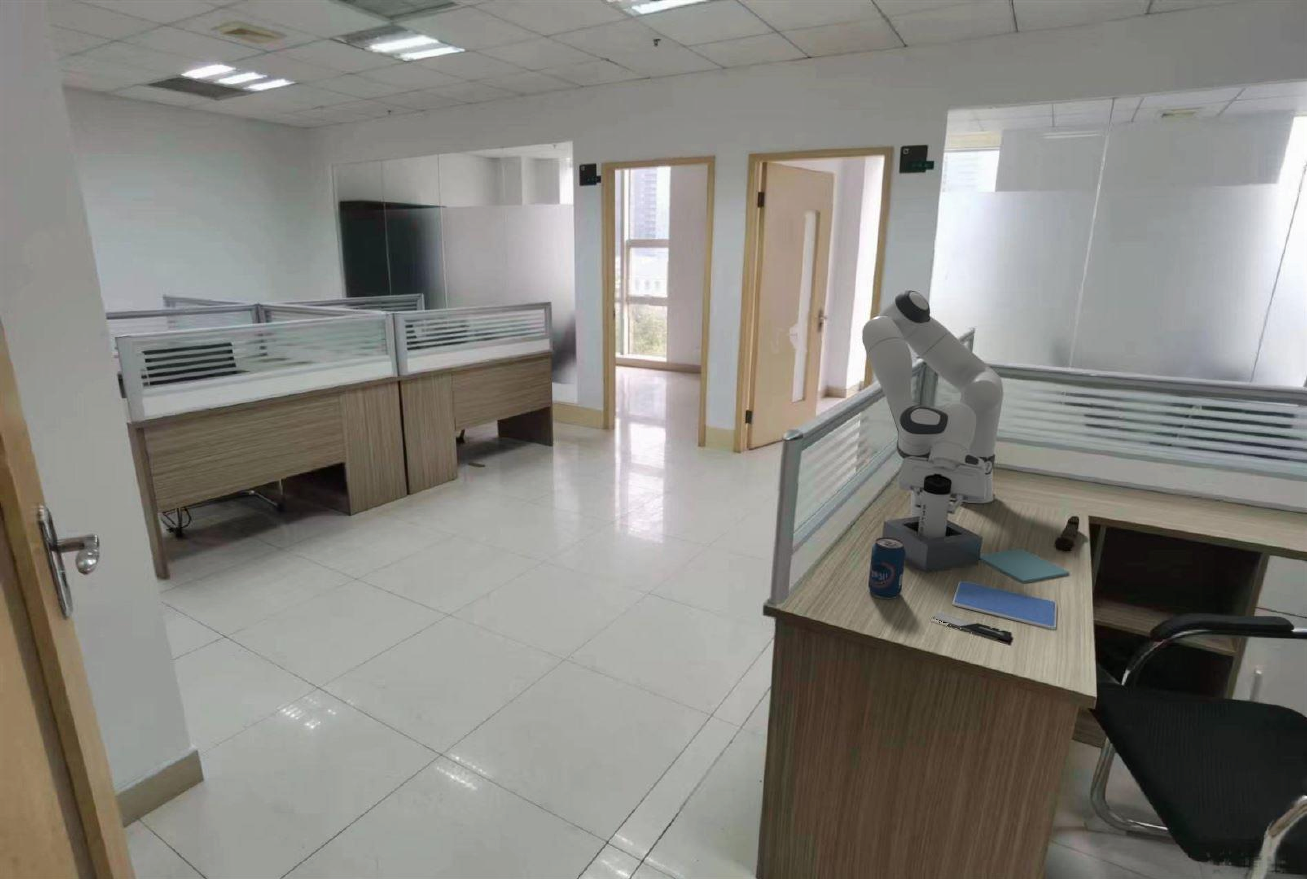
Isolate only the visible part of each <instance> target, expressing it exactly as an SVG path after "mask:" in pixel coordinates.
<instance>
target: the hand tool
mask: <svg viewBox="0 0 1307 879" xmlns="http://www.w3.org/2000/svg"><path fill="white" fill-rule="evenodd" d="M1079 525H1080V518H1079V516H1077V515H1071V517H1069V518H1068V519H1067V522H1066V525H1065V527H1064V529H1063V530H1062V532H1061V534H1060V535H1059V537H1056V539H1055V540H1054V548H1055V549H1056V551H1060V552H1063V553H1064V552H1065V553H1071V552H1072V550H1073V548H1074V545H1075V540H1076V538H1077V536H1078V532H1079Z"/></svg>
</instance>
